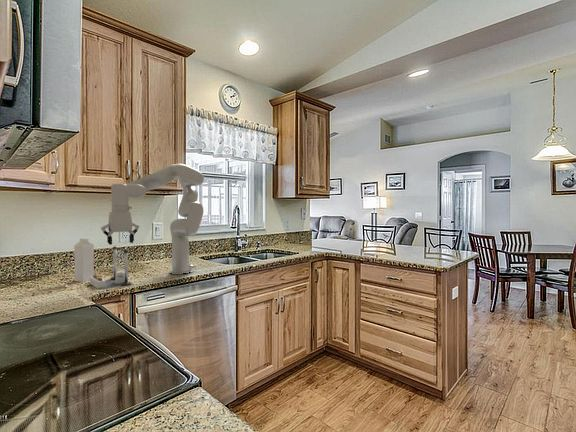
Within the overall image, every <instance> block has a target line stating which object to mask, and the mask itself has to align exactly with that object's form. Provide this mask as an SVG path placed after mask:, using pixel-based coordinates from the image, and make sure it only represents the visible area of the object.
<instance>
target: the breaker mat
mask: <svg viewBox="0 0 576 432" xmlns="http://www.w3.org/2000/svg"><path fill="white" fill-rule="evenodd" d="M87 283H88V284H89V285H91V286H92V287H94V288H95V289H97V290H98V291H101V290H110V289H115V288H122V287H124V286H122V285H121V284H116V280H111V278H110V279H104V278H102V277H100V276H99V275H98V274H94V275H93V277H90V281H87ZM129 286H134V283H132V282H131V285H129ZM129 286H128V287H129Z"/></svg>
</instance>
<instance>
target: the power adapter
mask: <svg viewBox="0 0 576 432" xmlns="http://www.w3.org/2000/svg"><path fill="white" fill-rule="evenodd" d="M115 276H116V284H121V283H123V282H125V271H124V270H122V269H121V270H117V271H116V275H115Z"/></svg>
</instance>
